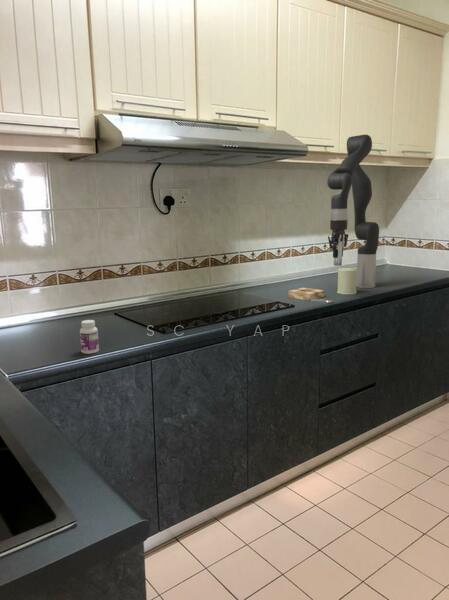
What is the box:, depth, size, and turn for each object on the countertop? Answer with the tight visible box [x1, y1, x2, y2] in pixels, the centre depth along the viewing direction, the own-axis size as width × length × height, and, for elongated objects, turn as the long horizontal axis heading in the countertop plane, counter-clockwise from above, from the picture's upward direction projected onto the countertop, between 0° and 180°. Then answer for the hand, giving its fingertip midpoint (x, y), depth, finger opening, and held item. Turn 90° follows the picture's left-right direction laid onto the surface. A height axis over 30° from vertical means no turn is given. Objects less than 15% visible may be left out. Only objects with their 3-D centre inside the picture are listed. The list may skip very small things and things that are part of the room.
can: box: [336, 267, 357, 296], centre depth 235 cm, size 9×9×12 cm
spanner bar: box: [310, 298, 333, 304], centre depth 216 cm, size 11×3×1 cm, turn 45°
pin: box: [333, 241, 343, 267], centre depth 220 cm, size 4×4×11 cm
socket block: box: [287, 287, 325, 301], centre depth 227 cm, size 12×12×3 cm
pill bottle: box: [79, 319, 100, 355], centre depth 149 cm, size 5×5×10 cm
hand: (337, 257), depth 220 cm, fingers closed on pin, 3 cm apart
